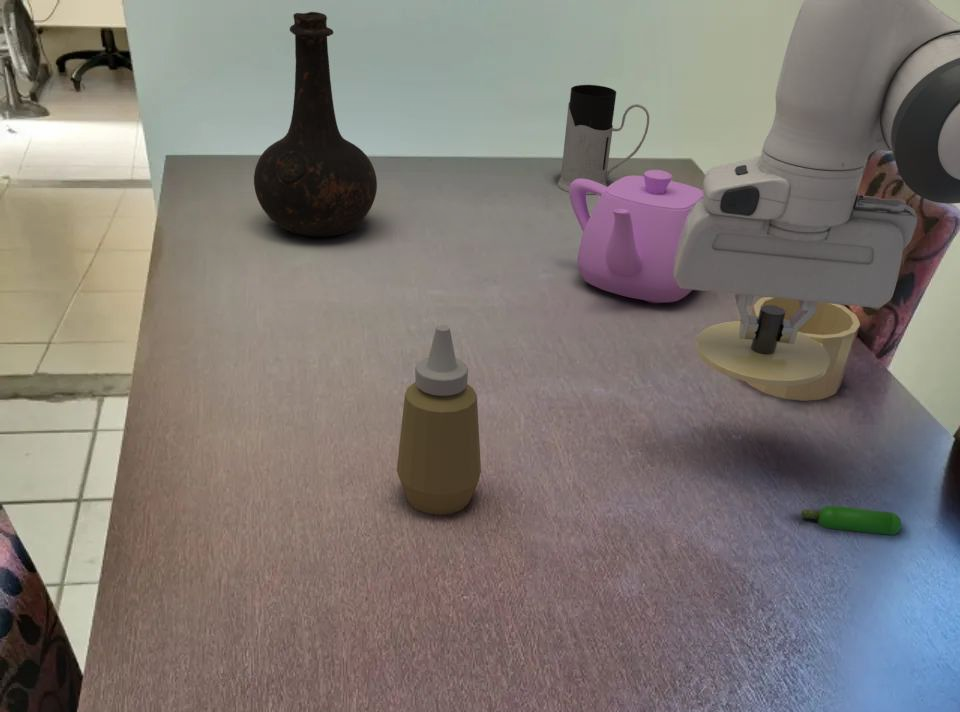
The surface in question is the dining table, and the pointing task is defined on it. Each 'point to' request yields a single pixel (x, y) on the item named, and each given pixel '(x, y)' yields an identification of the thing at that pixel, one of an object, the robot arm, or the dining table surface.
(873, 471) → the dining table surface
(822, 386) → the pot
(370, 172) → the glass bottle
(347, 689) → the dining table surface
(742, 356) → the lid
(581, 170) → the glass holder
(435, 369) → the squeeze bottle
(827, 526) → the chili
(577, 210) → the teapot
